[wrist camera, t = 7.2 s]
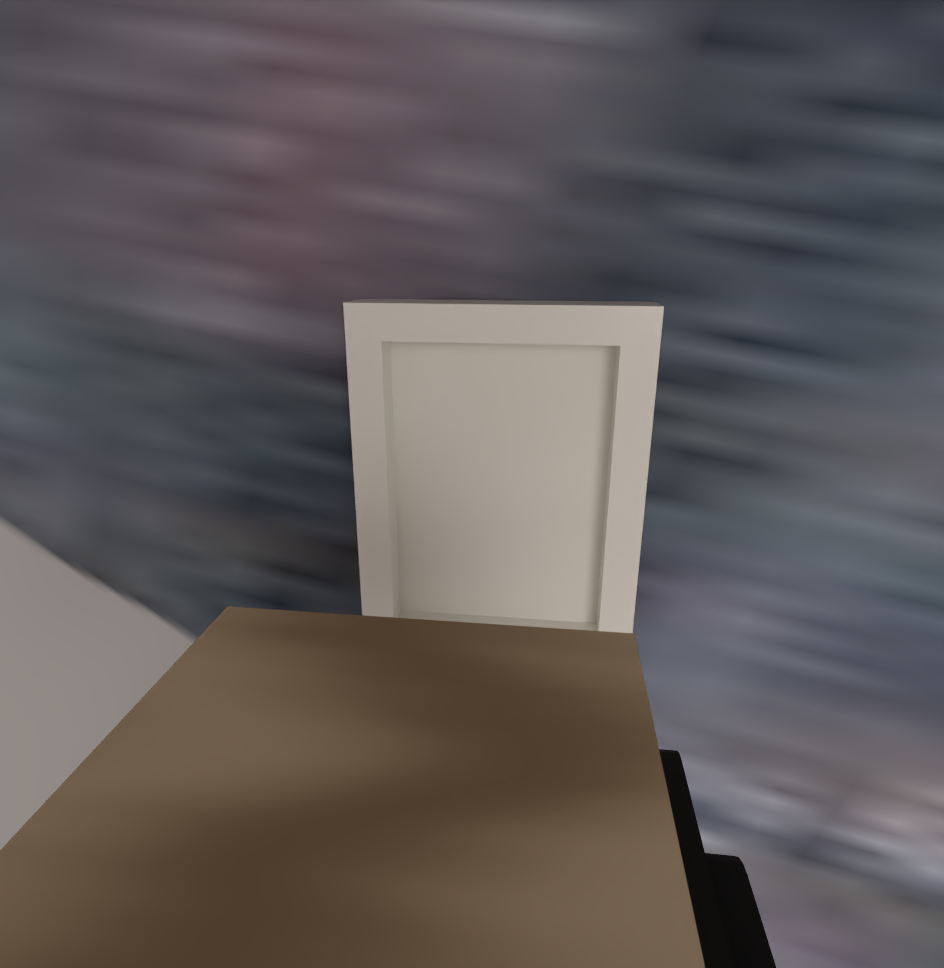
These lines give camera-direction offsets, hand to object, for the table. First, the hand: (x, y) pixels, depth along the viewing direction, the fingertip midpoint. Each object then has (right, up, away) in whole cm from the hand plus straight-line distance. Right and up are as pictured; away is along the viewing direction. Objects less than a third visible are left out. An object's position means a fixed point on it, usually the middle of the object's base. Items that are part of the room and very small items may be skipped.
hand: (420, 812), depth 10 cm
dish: (+2, +5, +15) cm, 15 cm away
